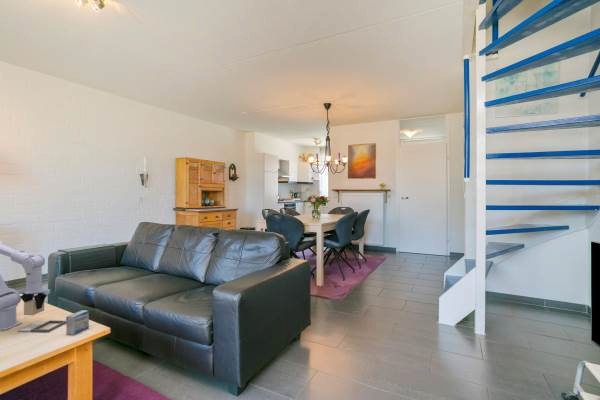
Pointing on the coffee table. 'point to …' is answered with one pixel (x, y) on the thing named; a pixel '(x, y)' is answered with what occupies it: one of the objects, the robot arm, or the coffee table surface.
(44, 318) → the coffee table surface
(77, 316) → the medicine box
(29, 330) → the pad
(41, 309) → the box
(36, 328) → the grey square frame
